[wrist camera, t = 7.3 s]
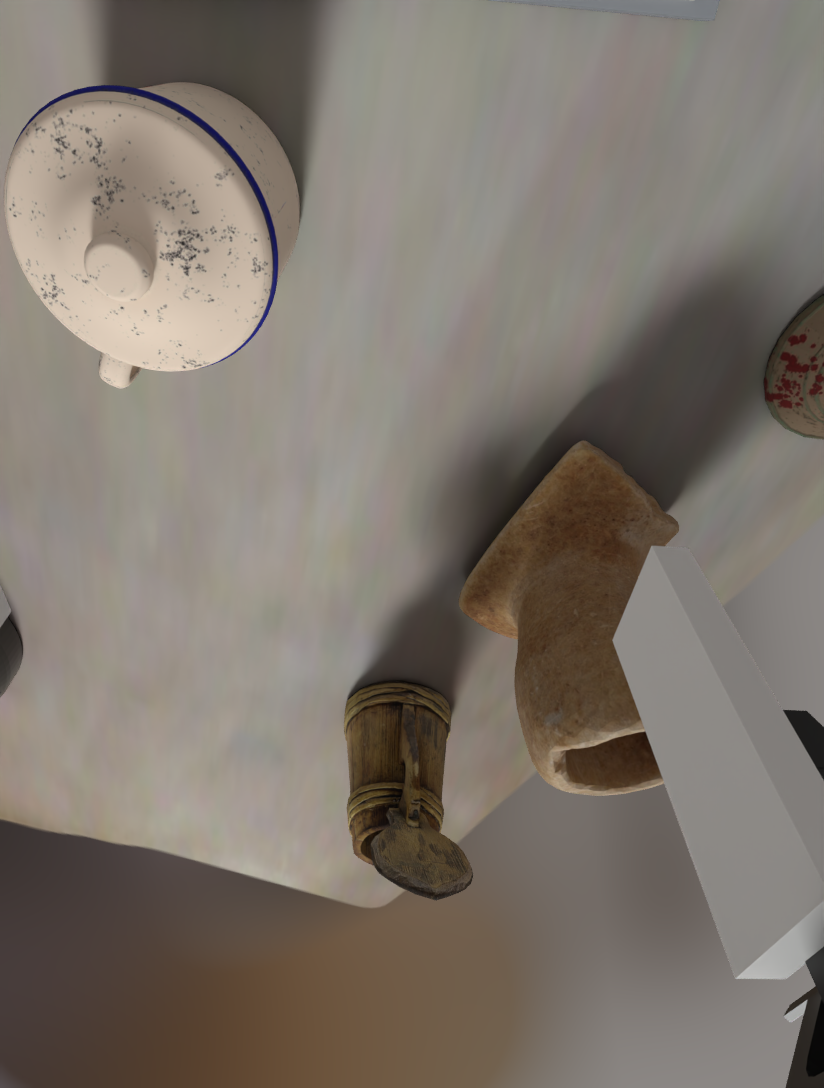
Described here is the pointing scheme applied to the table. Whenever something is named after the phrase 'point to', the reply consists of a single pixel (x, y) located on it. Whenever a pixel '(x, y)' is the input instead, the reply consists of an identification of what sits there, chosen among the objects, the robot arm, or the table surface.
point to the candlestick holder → (799, 374)
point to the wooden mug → (402, 787)
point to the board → (639, 7)
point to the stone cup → (574, 619)
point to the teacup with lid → (152, 222)
